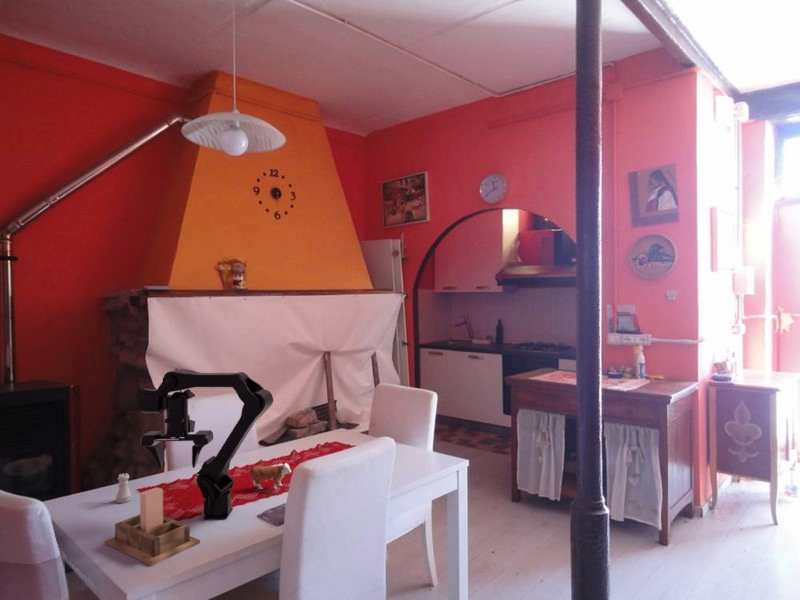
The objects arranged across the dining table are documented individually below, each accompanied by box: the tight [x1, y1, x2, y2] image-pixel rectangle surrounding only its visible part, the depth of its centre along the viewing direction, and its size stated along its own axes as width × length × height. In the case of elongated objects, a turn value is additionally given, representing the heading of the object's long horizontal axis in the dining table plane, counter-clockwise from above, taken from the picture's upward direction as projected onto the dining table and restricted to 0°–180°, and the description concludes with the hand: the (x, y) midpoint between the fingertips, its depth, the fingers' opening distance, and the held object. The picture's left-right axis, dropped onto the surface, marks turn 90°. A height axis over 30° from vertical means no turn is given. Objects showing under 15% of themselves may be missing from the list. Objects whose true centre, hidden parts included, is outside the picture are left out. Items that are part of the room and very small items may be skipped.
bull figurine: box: [249, 462, 292, 490], centre depth 169 cm, size 4×13×8 cm, turn 89°
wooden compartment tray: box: [104, 514, 201, 567], centre depth 132 cm, size 13×20×5 cm, turn 58°
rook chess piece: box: [115, 472, 133, 504], centre depth 159 cm, size 4×4×8 cm
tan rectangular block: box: [139, 487, 164, 531], centre depth 132 cm, size 4×2×12 cm, turn 147°
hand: (177, 467), depth 150 cm, fingers open, 9 cm apart
